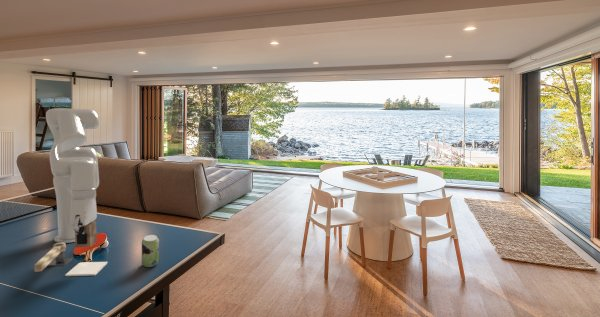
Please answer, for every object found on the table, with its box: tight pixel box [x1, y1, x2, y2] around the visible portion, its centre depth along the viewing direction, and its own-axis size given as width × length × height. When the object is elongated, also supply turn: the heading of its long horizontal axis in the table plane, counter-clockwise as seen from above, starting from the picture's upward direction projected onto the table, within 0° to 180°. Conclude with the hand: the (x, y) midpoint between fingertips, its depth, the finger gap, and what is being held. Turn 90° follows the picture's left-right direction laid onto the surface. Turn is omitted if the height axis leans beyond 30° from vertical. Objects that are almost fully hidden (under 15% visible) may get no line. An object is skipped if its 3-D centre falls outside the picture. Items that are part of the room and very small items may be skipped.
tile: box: [64, 261, 108, 277], centre depth 123 cm, size 10×10×1 cm
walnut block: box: [74, 221, 98, 248], centre depth 121 cm, size 5×5×8 cm
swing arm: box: [33, 242, 67, 273], centre depth 120 cm, size 20×4×6 cm, turn 17°
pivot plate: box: [46, 257, 73, 267], centre depth 128 cm, size 6×6×1 cm
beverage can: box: [141, 234, 160, 268], centre depth 127 cm, size 6×7×12 cm
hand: (86, 240), depth 121 cm, fingers closed on walnut block, 5 cm apart
